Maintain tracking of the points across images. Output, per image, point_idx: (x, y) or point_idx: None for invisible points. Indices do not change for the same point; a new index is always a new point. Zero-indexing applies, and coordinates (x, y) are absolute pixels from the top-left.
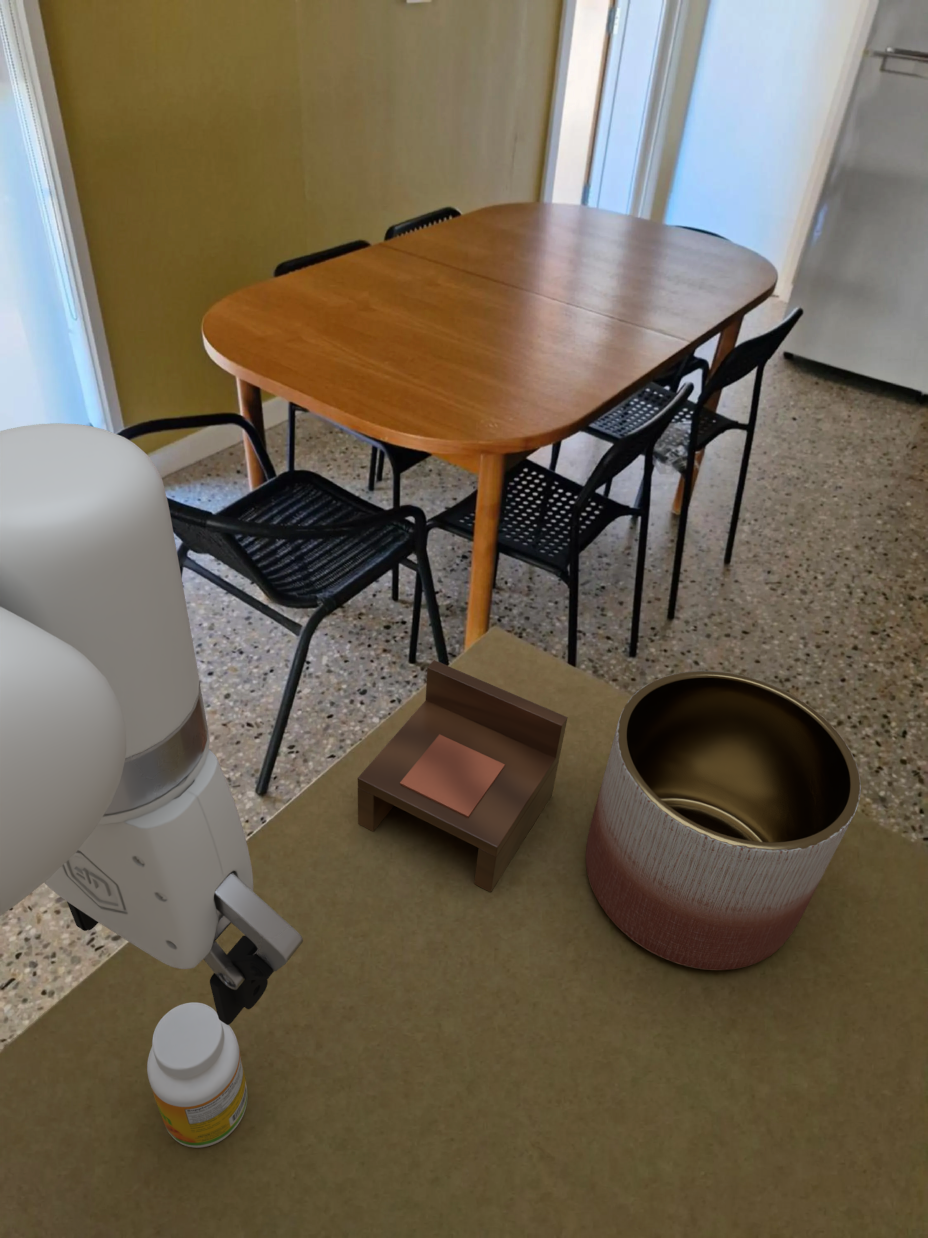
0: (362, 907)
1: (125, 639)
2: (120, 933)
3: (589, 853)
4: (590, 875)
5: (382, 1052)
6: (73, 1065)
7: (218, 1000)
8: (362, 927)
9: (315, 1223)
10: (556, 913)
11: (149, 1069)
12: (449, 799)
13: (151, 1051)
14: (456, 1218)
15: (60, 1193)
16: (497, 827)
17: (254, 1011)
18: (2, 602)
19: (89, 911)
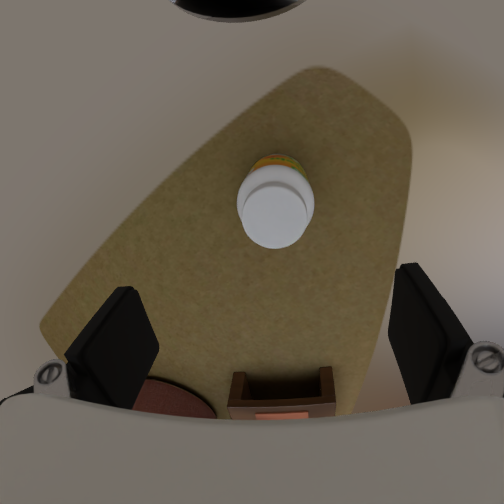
0: (290, 333)
1: None
2: (146, 436)
3: (198, 410)
4: (193, 400)
5: (211, 274)
6: (375, 147)
7: (92, 324)
8: (281, 324)
9: (168, 179)
10: (198, 376)
11: (295, 175)
12: (273, 416)
13: (305, 186)
14: (119, 231)
15: (311, 87)
16: (236, 414)
17: (299, 246)
18: None
19: (287, 462)
